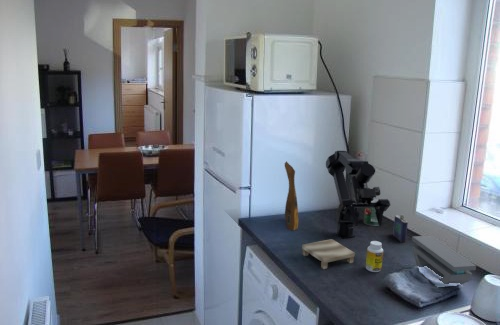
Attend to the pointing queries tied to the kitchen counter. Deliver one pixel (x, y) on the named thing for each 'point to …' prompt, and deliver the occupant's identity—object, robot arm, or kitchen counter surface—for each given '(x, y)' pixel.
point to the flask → (400, 228)
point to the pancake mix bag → (291, 200)
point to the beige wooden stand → (328, 252)
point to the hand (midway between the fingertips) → (368, 226)
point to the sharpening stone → (442, 260)
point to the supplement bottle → (374, 256)
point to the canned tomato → (371, 215)
